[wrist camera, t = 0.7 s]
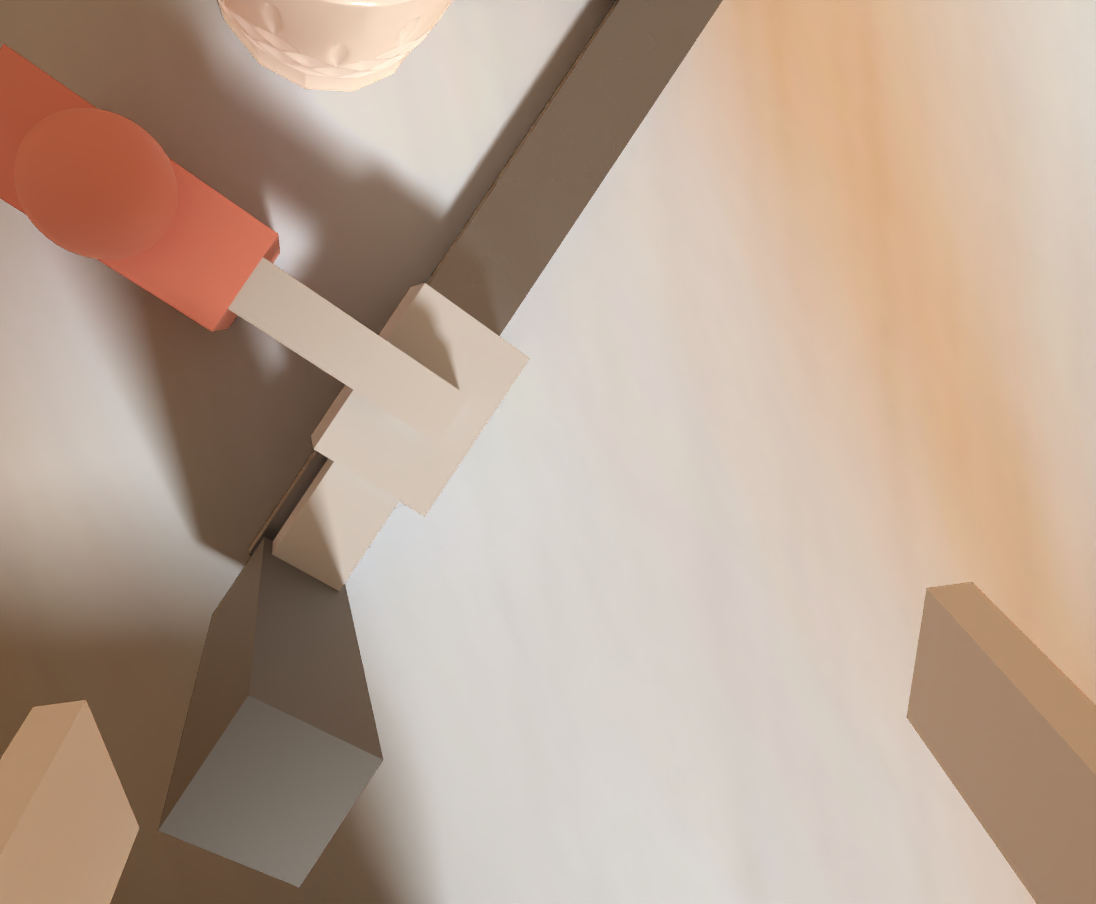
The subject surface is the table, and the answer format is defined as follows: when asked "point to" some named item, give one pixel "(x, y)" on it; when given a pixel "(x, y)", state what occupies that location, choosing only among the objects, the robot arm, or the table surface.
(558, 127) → the rail
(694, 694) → the table surface
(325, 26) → the white cup
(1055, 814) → the robot arm
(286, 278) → the striker slider
